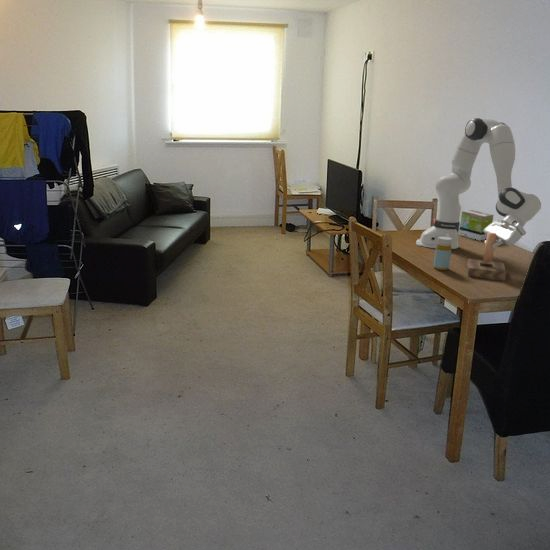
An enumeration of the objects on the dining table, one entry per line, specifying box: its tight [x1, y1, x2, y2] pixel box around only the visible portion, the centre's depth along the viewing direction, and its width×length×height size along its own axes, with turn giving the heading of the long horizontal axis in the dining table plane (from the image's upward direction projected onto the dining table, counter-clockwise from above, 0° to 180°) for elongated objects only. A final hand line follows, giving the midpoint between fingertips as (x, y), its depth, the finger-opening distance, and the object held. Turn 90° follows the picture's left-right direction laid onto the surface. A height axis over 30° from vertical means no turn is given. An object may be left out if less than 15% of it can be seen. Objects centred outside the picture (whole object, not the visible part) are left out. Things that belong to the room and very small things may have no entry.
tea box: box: [458, 209, 494, 242], centre depth 326 cm, size 15×10×15 cm
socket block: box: [466, 258, 507, 281], centre depth 261 cm, size 16×16×4 cm
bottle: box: [432, 236, 452, 271], centre depth 263 cm, size 7×7×15 cm
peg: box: [482, 233, 497, 262], centre depth 257 cm, size 4×4×13 cm
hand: (488, 245), depth 257 cm, fingers closed on peg, 4 cm apart
